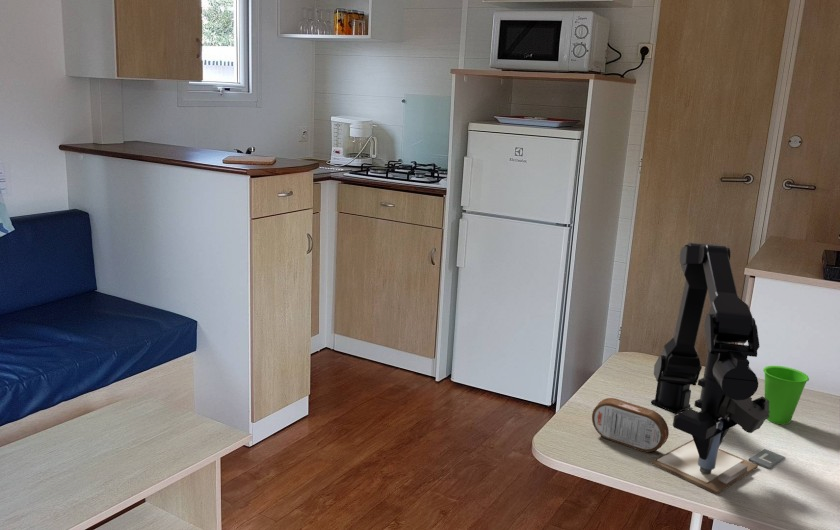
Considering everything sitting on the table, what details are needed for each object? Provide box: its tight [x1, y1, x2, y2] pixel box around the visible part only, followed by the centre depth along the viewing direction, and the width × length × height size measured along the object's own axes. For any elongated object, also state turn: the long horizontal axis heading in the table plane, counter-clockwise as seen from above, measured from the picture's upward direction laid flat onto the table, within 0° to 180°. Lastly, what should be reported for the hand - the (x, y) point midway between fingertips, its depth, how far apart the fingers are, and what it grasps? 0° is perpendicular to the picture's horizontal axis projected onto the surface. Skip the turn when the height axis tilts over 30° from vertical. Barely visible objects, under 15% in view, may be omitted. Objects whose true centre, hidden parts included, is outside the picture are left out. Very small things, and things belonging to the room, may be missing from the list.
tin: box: [591, 397, 670, 453], centre depth 143 cm, size 15×3×8 cm, turn 54°
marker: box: [698, 419, 723, 474], centre depth 131 cm, size 3×3×10 cm
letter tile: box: [748, 448, 786, 470], centre depth 141 cm, size 4×7×1 cm, turn 131°
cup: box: [762, 365, 810, 425], centre depth 158 cm, size 9×9×11 cm
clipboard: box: [651, 438, 759, 495], centre depth 137 cm, size 13×16×2 cm
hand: (707, 456), depth 132 cm, fingers closed on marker, 3 cm apart
